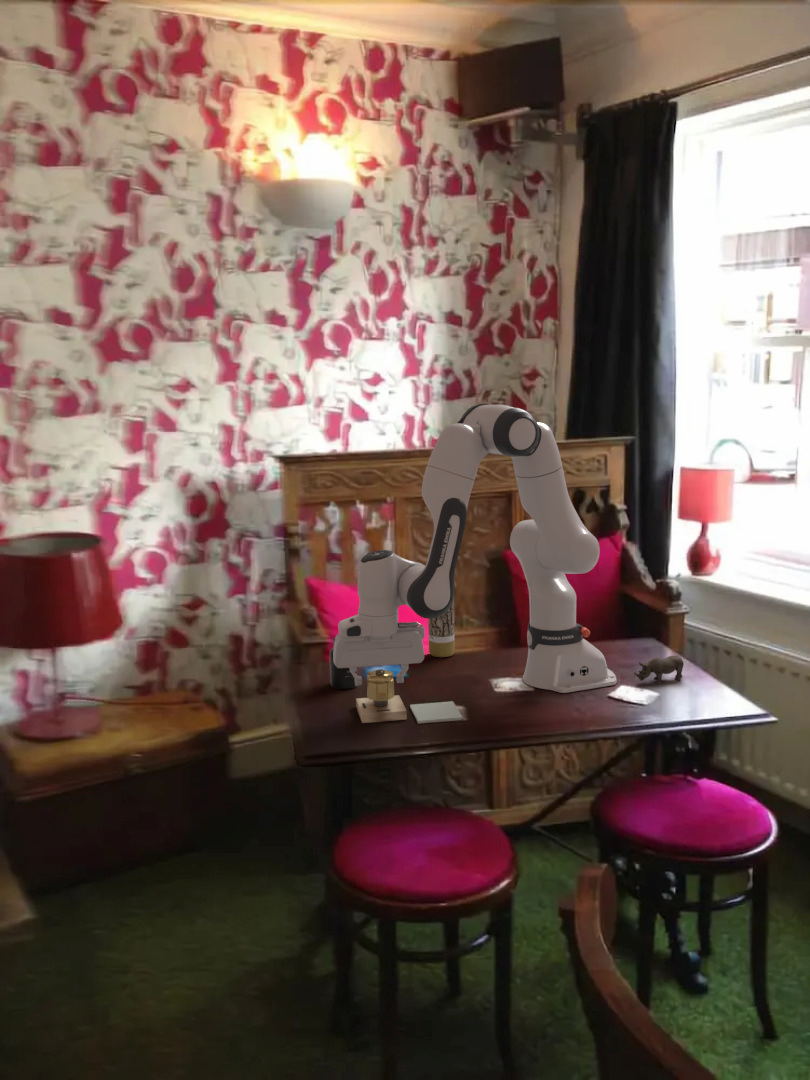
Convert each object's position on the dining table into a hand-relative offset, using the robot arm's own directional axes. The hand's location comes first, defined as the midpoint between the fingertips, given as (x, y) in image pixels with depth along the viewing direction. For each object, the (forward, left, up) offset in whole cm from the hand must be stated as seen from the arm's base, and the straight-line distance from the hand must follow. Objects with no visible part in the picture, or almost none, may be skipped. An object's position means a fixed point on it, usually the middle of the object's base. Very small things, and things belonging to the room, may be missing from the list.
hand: (379, 683), depth 227 cm
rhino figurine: (-69, -6, -7) cm, 70 cm away
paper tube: (-22, -38, -7) cm, 45 cm away
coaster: (-12, +3, -7) cm, 14 cm away
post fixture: (0, 0, -7) cm, 7 cm away
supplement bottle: (+6, -20, -7) cm, 22 cm away
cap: (0, 0, -3) cm, 3 cm away
